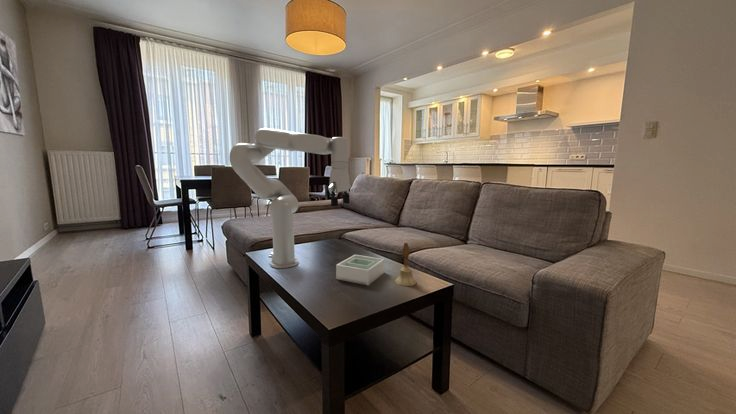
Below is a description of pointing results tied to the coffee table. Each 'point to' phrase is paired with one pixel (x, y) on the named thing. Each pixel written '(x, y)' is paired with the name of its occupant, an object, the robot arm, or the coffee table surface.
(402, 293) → the coffee table surface
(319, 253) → the coffee table surface
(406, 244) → the hand bell
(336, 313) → the coffee table surface
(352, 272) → the big crate
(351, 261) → the small crate
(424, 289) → the coffee table surface
